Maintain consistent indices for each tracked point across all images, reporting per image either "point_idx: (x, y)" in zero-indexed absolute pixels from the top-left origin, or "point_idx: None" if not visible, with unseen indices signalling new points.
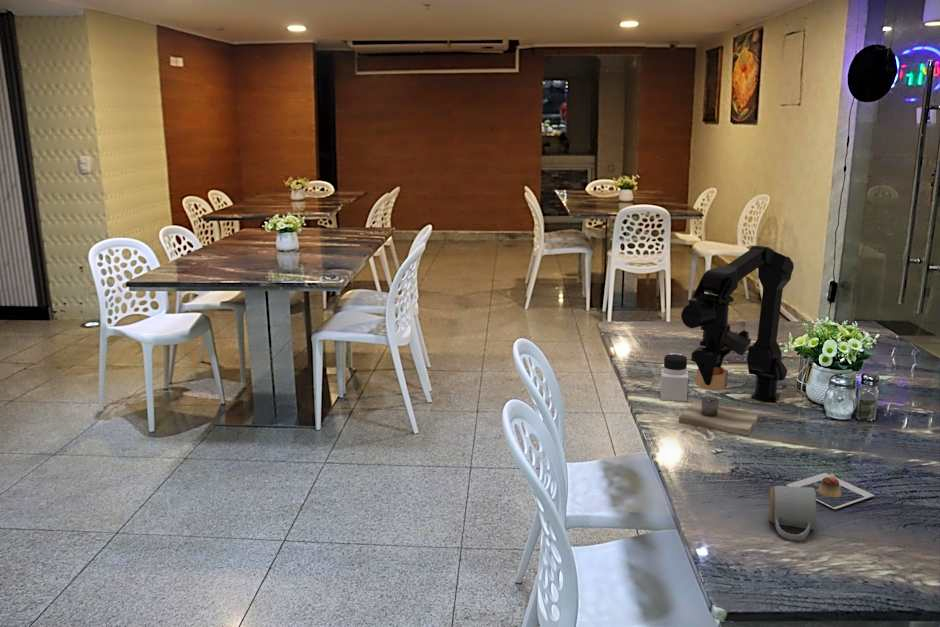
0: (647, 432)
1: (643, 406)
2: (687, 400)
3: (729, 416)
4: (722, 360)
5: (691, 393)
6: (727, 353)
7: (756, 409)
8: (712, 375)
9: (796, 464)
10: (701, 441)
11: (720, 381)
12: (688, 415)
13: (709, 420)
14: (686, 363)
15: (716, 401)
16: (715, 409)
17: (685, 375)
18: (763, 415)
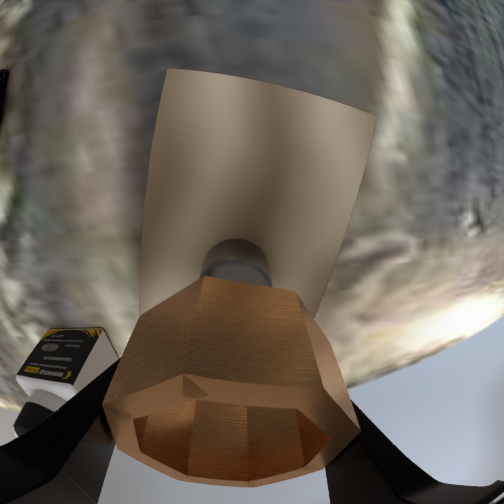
0: (373, 379)
1: None
2: (99, 329)
3: (239, 188)
4: (60, 446)
5: (41, 314)
6: (17, 500)
7: (68, 102)
8: (361, 434)
9: (492, 42)
10: (426, 265)
11: (326, 357)
12: None
13: (310, 264)
14: (34, 418)
15: (259, 278)
16: (260, 260)
17: (67, 396)
18: (119, 65)
